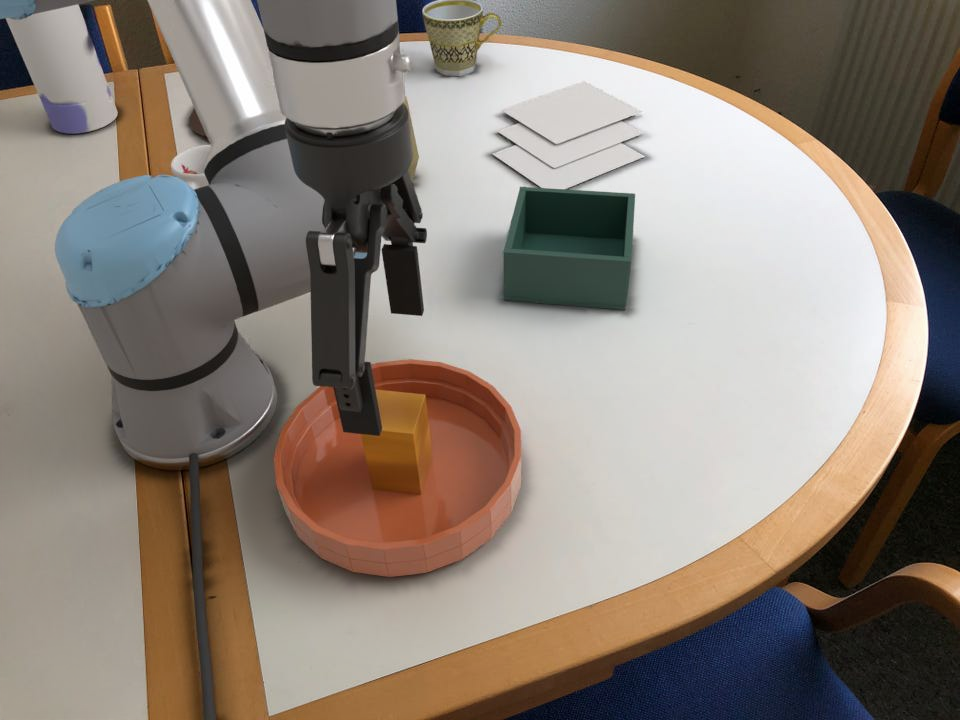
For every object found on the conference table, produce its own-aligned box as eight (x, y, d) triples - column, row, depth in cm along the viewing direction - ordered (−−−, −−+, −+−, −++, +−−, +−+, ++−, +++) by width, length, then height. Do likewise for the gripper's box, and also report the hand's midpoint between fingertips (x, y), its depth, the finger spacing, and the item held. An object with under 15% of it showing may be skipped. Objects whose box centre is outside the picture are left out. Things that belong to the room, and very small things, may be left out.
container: (131, 114, 128) (85, -17, 114) (79, 140, 122) (23, 5, 108) (91, 101, 132) (42, -27, 118) (39, 125, 126) (-19, -7, 112)
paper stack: (687, 139, 115) (688, 134, 115) (551, 194, 105) (551, 190, 105) (583, 85, 129) (584, 80, 129) (455, 129, 120) (455, 125, 119)
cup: (224, 245, 99) (207, 189, 94) (166, 240, 101) (146, 184, 95) (258, 200, 107) (244, 145, 102) (204, 195, 108) (187, 141, 103)
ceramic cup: (421, 79, 134) (416, 19, 127) (433, 56, 141) (429, -3, 134) (497, 82, 132) (496, 21, 125) (505, 58, 139) (505, -1, 132)
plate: (217, 73, 138) (212, 52, 136) (376, 71, 137) (374, 49, 134) (164, 152, 118) (157, 129, 115) (351, 150, 116) (347, 127, 114)
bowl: (502, 596, 62) (502, 565, 59) (247, 561, 66) (233, 529, 62) (535, 404, 78) (536, 370, 74) (326, 382, 81) (318, 350, 78)
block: (421, 495, 69) (413, 433, 64) (371, 488, 70) (359, 427, 64) (432, 455, 72) (425, 394, 67) (385, 450, 73) (374, 389, 68)
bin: (625, 310, 88) (631, 261, 83) (503, 300, 90) (503, 252, 85) (630, 240, 97) (635, 193, 93) (520, 232, 99) (520, 186, 95)
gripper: (344, 226, 38) (393, 498, 52) (447, 32, 56) (463, 275, 70) (198, 217, 39) (286, 486, 54) (346, 30, 57) (382, 269, 72)
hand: (387, 366), depth 62 cm, fingers open, 13 cm apart
